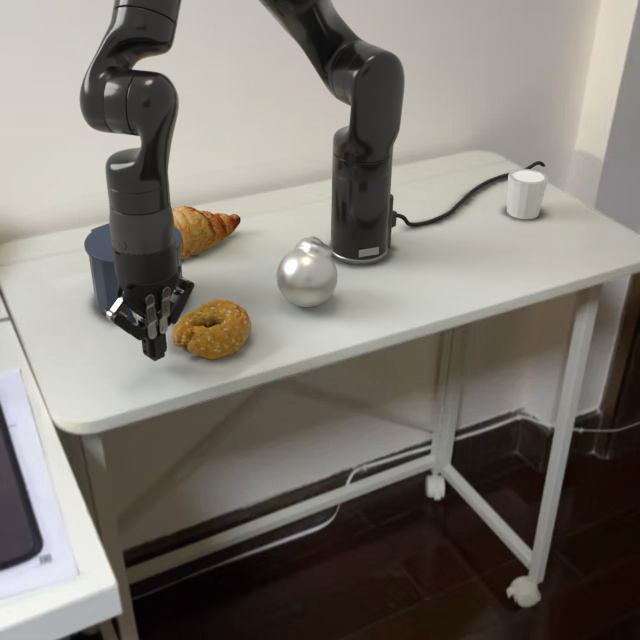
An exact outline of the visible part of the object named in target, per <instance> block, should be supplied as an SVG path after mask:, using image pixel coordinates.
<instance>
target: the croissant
mask: <svg viewBox="0 0 640 640" xmlns="http://www.w3.org/2000/svg"><path fill="white" fill-rule="evenodd" d="M171 208H172V212H173V217H174V226H175V227H176V228H178V229H179V231H180V232H181V234H182V243H181V246H180V252H181V260H183V259H186V257H189V256H194V255H198V254H200V253H202V252H205V251H207V250H209V249H210V248H212V247H213V246H215V245H216V244H218V243H219V242H221V241H223V240H224V239H226V238H228V237H229V236H231V235H232V234H233V233H234V232H235V230H236V229H237V228H238V226H239V225H240V224H241V221H242V220H241V216H240V215H238V214H236V213H232V214H229V215H228V214H227V213H225V212H224V213H223V212H215V213H213V212H211V211H208V210H199V209H197V208H195V207H193V206H186V205H182V206H174V207H171Z"/></svg>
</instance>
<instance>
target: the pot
mask: <svg viewBox="0 0 640 640" xmlns="http://www.w3.org/2000/svg"><path fill="white" fill-rule="evenodd" d="M103 225H104V224H102V225H100V226H103ZM100 226H97V227H95V228H91V229H90V233H91V232H92V231H94V230H95V229H97V228H99V227H100ZM176 252H177V264H178V268H177V272H178V274H179V276H182V277H184V276H183V267H182V266H183V265H182V259H181V252H180V247H179V249H178V250H177V251H176ZM88 261H89V267H90V274H91V280H92V288H93V294H94V300H95V304H96V307H97V310H98V311H99V313H101V315H103V310H104V309H105V308H107V307H109V308H110V309H111V308H112V306H113V305H114V303H115V302H116V301H117V299H118V298H117V295H116V293H117V289H118V285H119V282H118V279H117V276H116V273H115V266H114V265H112V264H106V263H102V262H100V261H97V260H95V259H93V258H92V257H90V256H89V255H88ZM174 307H175V304H173V306H172V308H171V310H170V312H171V313H172V311H173V309H174ZM125 309H126V311H127V315H128V316H129V317H128V319H127V320H128V321H130V322H131V323H132V324H134V323H135V324H137V323H136V319H135V317H134V316H133V314H132V311H131V310H130V309H129V308H128V307H126V308H125Z"/></svg>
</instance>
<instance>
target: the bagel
mask: <svg viewBox="0 0 640 640" xmlns="http://www.w3.org/2000/svg"><path fill="white" fill-rule="evenodd" d="M251 332H252V321H251V316H250V315H249V313H248V310H246V308H243V307H241V305H240V304H238V303H236V302H233V301H231V300H228V299H225V300H224V299H215V300H210V301H207V302H206V303H204V304H201V305H200V306H199V307H198V308H196V309H194V310H191V311H190V312H187V313H185V314H184V315H183V316H180V317H179V319H178V321H177V323H176V324H174V326H173V327H172V328H171V337H170V338H171V340H172V343H173V345H175V346H176V347H177V348H181V349H184V350H188V352H190V354H193V356H194V357H195V356H196V357H202V358H204V359H209V360H217V359H222V358H224V357H227V356H230V355H233V354H235V353H236V352H237V351H239V350H240V349H241V348H242V347H243V346H244V344H245V343H246V342H247V340H248V338H249V337H250V334H251Z"/></svg>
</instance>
